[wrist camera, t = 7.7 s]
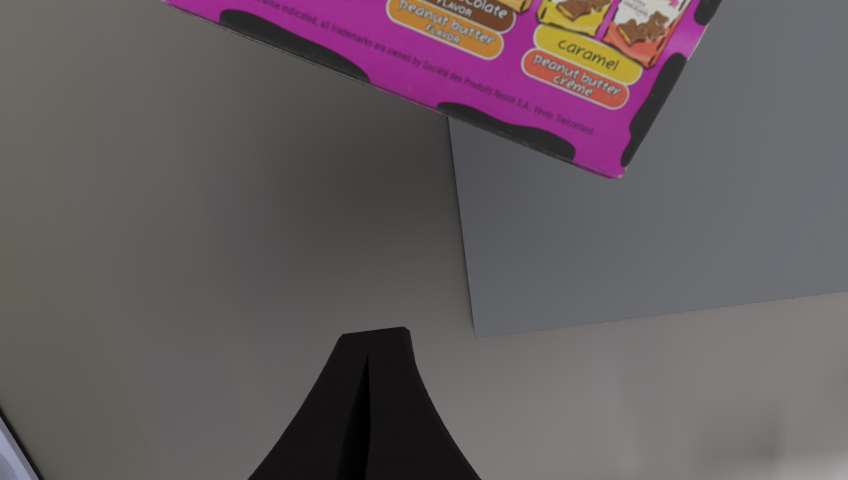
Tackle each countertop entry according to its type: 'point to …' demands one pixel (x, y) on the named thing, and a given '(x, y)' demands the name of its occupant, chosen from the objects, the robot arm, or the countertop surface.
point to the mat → (677, 189)
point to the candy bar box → (497, 61)
